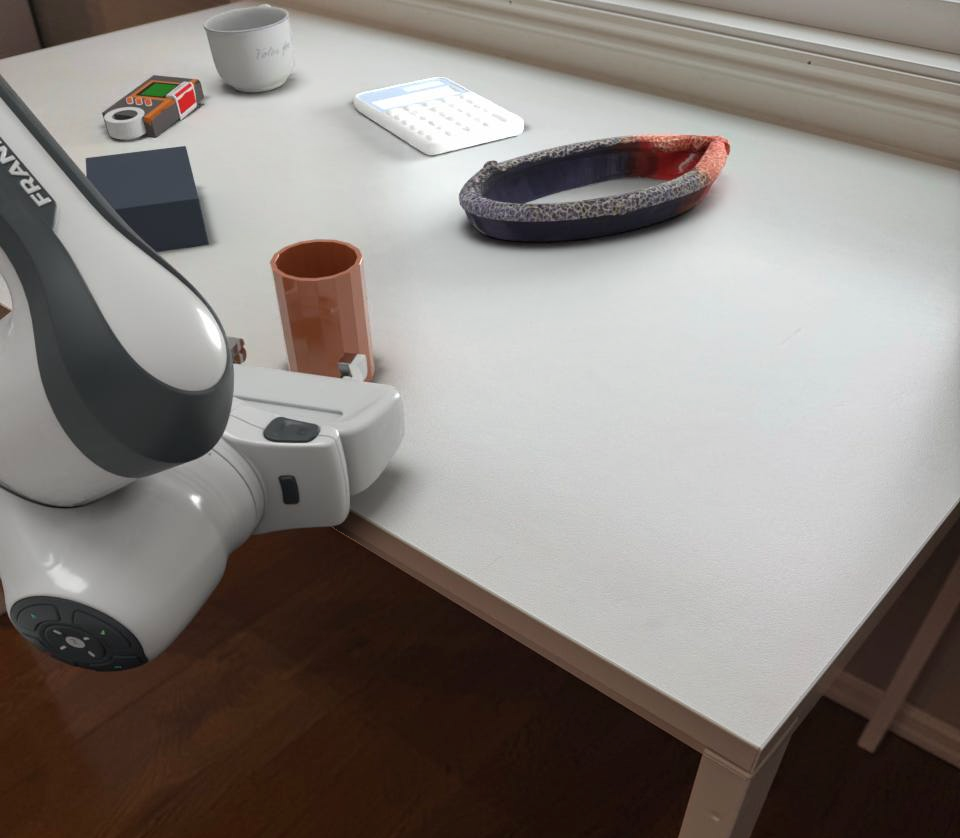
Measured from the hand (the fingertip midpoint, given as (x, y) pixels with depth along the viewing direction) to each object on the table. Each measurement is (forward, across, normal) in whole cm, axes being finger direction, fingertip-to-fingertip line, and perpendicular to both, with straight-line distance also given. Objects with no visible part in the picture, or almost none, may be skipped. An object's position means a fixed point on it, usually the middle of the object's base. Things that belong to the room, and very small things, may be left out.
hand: (296, 353), depth 70 cm
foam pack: (+28, -28, -6) cm, 40 cm away
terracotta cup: (+5, 0, -5) cm, 7 cm away
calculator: (+63, -9, -6) cm, 64 cm away
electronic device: (+56, -43, -6) cm, 71 cm away
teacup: (+72, -36, -6) cm, 81 cm away
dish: (+42, +15, -6) cm, 45 cm away
